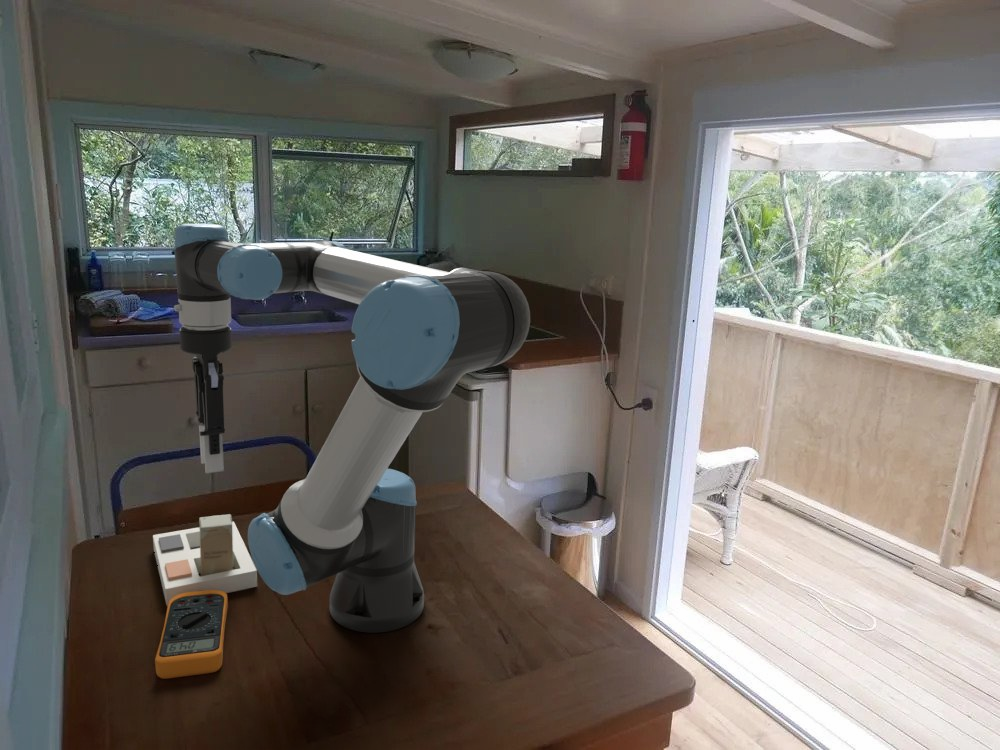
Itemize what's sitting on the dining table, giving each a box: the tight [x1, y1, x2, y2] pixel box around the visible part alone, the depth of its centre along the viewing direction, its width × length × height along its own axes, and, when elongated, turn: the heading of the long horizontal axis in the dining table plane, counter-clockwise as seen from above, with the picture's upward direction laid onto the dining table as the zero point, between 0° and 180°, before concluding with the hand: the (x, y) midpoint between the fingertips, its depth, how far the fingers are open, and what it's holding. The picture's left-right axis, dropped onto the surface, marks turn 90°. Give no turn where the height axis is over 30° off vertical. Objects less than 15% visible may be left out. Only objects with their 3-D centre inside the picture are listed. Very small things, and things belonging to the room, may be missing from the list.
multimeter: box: [154, 590, 229, 680], centre depth 109 cm, size 9×18×3 cm, turn 17°
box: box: [198, 513, 234, 576], centre depth 124 cm, size 5×4×11 cm
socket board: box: [152, 520, 258, 607], centre depth 128 cm, size 20×14×4 cm
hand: (212, 466), depth 120 cm, fingers open, 4 cm apart
